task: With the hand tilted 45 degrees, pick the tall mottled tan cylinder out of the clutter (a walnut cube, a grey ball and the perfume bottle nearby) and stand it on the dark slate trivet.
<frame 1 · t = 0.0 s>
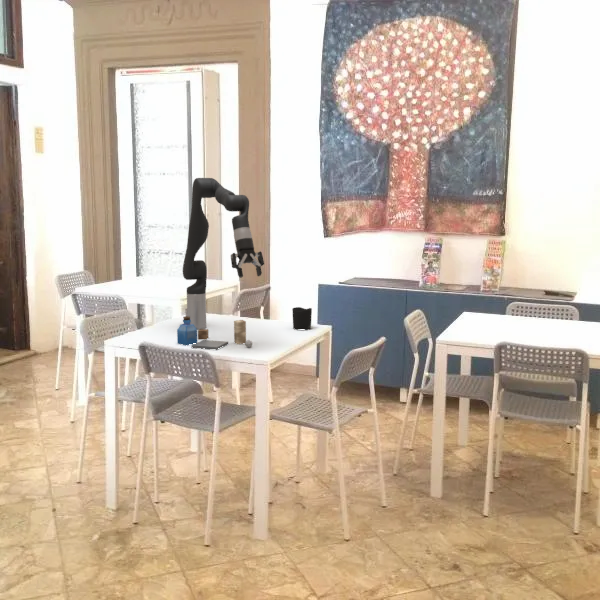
hand: (250, 276, 310), 31 cm above the table, tool tilted 20°, fingers open, 8 cm apart
pen holder: (302, 329, 360), on the table
grey ball: (248, 343, 318), point 2 cm above the table
perfume bottle: (187, 343, 327), on the table
mottled tan cylinder: (240, 343, 327), on the table
trivet: (210, 346, 321), on the table
walnut cube: (203, 338, 337), on the table
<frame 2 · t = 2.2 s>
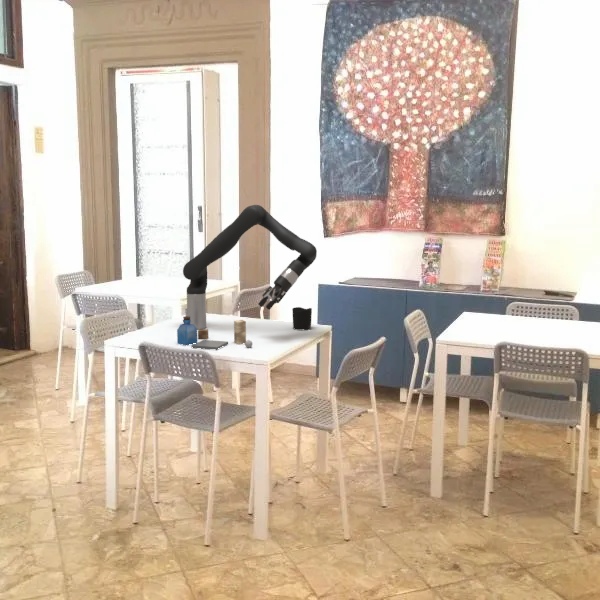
hand: (263, 307, 330), 15 cm above the table, tool tilted 45°, fingers open, 8 cm apart
nothing on the table moved.
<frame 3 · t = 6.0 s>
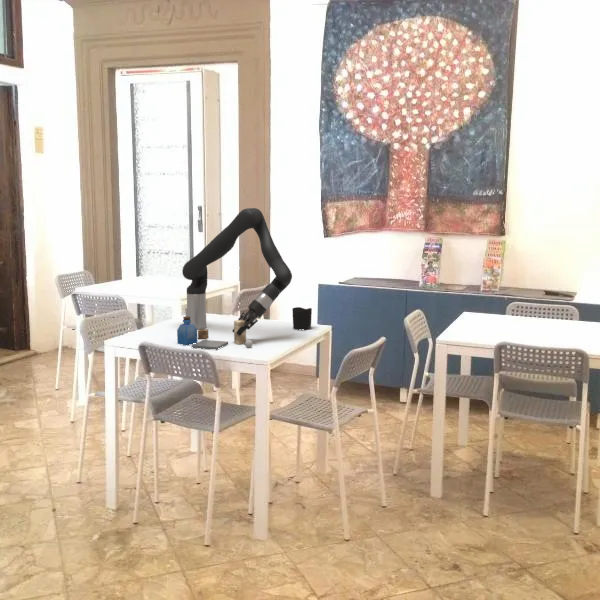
hand: (236, 333, 326), 5 cm above the table, tool tilted 45°, fingers closed on mottled tan cylinder, 4 cm apart
mottled tan cylinder: (240, 343, 327), on the table, touching gripper
everything else where it was.
when the fingers open (7 cm above the table, at t = 11.1 s): mottled tan cylinder drops 1 cm, resting on trivet.
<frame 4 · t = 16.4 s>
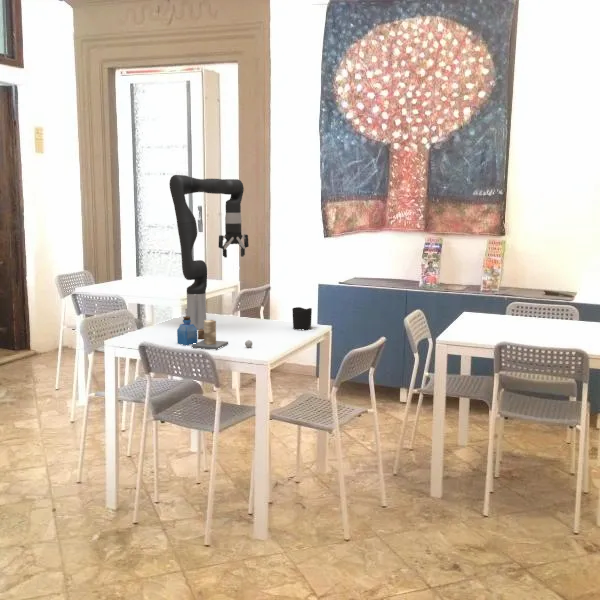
hand: (233, 256, 346), 36 cm above the table, tool pointing down, fingers open, 8 cm apart
mottled tan cylinder: (210, 343, 321), point 1 cm above the table, touching trivet
everything else where it was.
at the end: mottled tan cylinder inside the target area on the trivet (0.1 cm from its centre), point 1.2 cm above the trivet's base; mottled tan cylinder tilted 0°; the gripper is holding nothing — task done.
